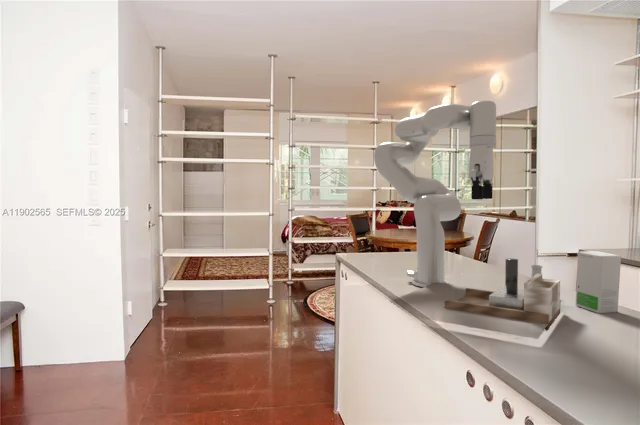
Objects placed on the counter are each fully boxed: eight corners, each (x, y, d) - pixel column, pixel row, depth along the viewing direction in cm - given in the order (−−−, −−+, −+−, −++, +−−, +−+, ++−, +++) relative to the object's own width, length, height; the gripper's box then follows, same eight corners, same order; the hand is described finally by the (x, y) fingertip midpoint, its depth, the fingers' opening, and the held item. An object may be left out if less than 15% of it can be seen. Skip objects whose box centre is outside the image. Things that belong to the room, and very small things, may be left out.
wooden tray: (444, 313, 117) (444, 275, 116) (466, 299, 131) (467, 266, 131) (547, 330, 102) (548, 287, 101) (560, 312, 116) (560, 275, 116)
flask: (553, 301, 128) (553, 267, 128) (526, 300, 130) (527, 267, 129) (545, 295, 135) (545, 263, 135) (520, 295, 137) (520, 263, 136)
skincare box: (574, 306, 123) (575, 251, 122) (594, 304, 124) (595, 250, 124) (600, 314, 115) (601, 255, 114) (620, 312, 116) (621, 254, 115)
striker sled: (488, 310, 113) (489, 260, 112) (501, 301, 122) (502, 255, 122) (522, 315, 108) (522, 263, 107) (532, 305, 117) (533, 257, 117)
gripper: (478, 146, 141) (478, 198, 142) (460, 141, 128) (460, 199, 128) (503, 144, 137) (502, 198, 138) (486, 139, 123) (486, 199, 124)
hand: (482, 199), depth 133 cm, fingers open, 9 cm apart
